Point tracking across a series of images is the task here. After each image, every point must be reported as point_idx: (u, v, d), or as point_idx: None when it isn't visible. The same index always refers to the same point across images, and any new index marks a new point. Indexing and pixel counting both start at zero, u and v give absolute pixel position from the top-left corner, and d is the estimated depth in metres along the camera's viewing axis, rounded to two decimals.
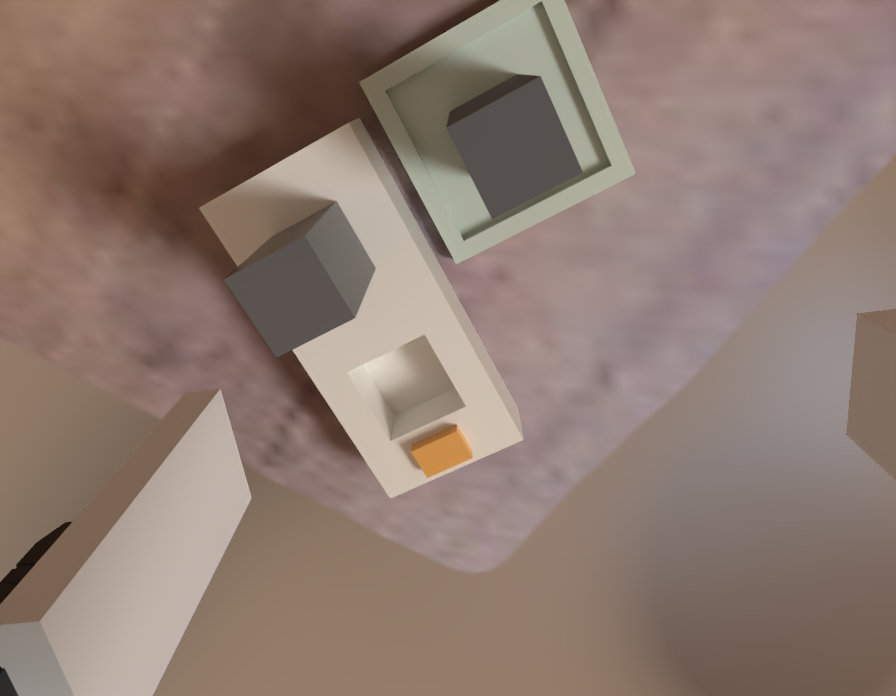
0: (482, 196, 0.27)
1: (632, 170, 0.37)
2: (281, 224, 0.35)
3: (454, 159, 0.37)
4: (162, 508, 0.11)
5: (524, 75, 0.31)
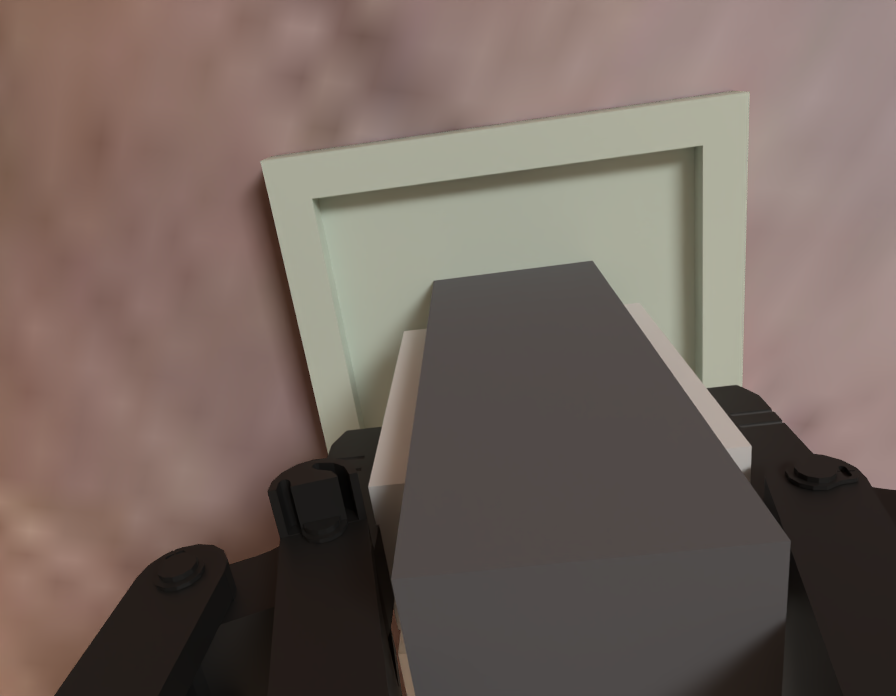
0: None
1: (738, 98, 0.15)
2: None
3: None
4: None
5: (423, 357, 0.13)
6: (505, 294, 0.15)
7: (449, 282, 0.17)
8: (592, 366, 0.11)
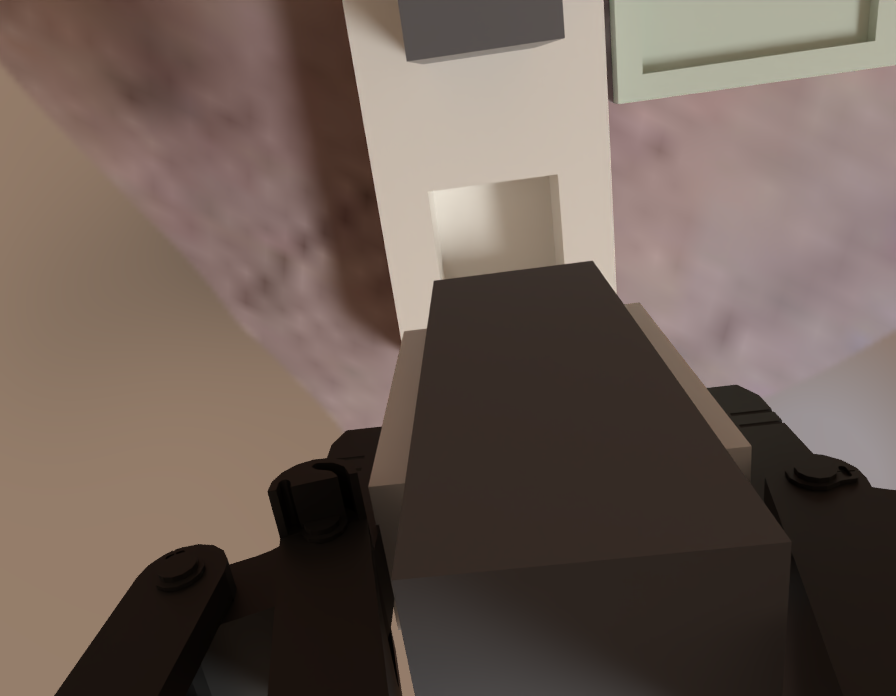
0: None
1: None
2: None
3: None
4: None
5: (423, 357, 0.13)
6: (505, 294, 0.15)
7: (449, 282, 0.17)
8: (591, 366, 0.11)
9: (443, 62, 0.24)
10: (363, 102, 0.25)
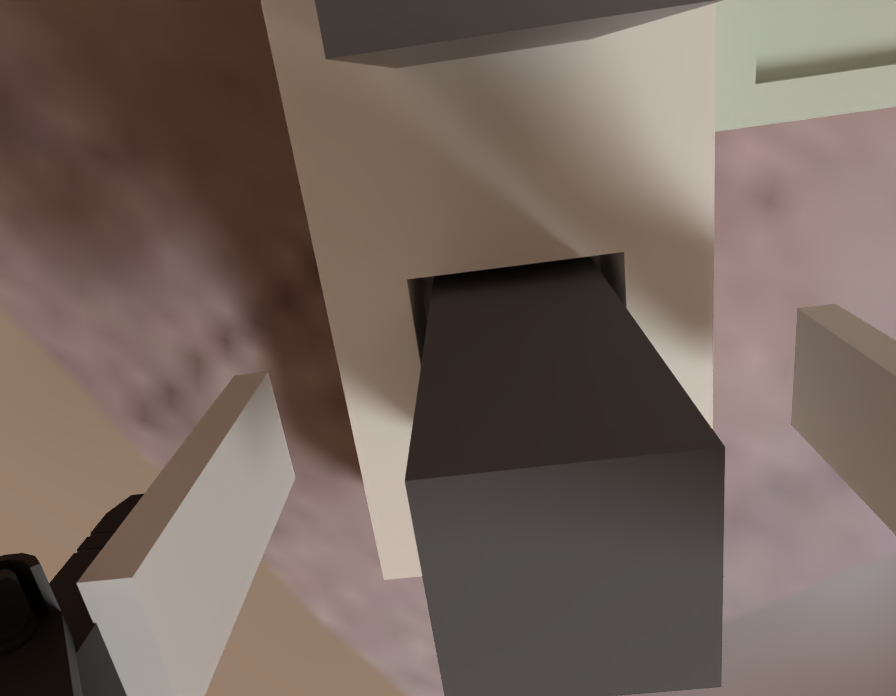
0: (650, 689, 0.10)
1: None
2: None
3: None
4: (224, 480, 0.12)
5: None
6: (501, 272, 0.17)
7: None
8: (574, 327, 0.13)
9: (431, 65, 0.14)
10: (294, 134, 0.15)
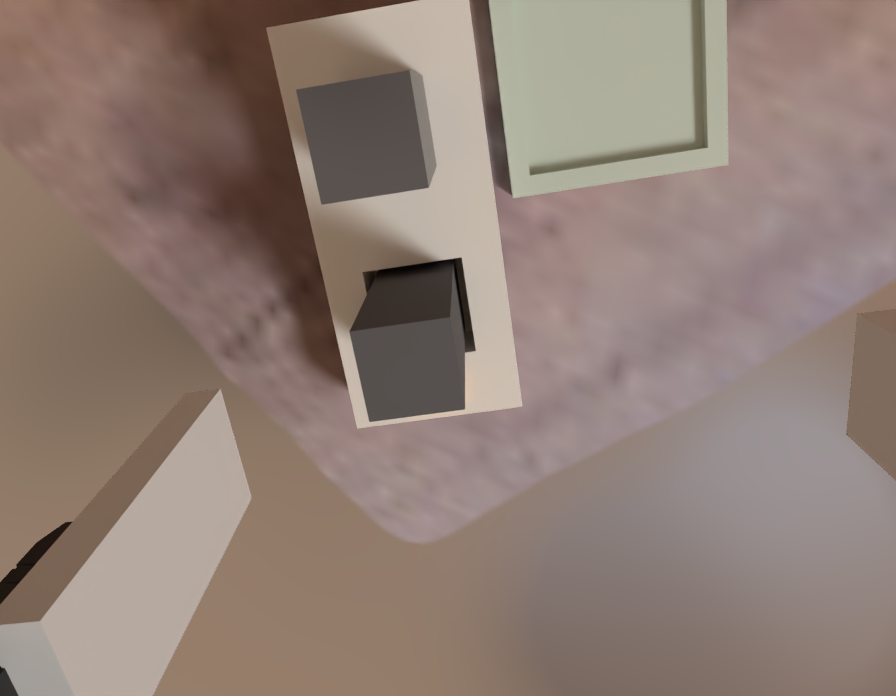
0: (440, 411, 0.28)
1: (726, 160, 0.34)
2: (352, 80, 0.31)
3: (551, 85, 0.34)
4: (161, 508, 0.11)
5: (369, 290, 0.32)
6: (409, 268, 0.35)
7: None
8: (427, 288, 0.31)
9: None
10: (309, 207, 0.33)
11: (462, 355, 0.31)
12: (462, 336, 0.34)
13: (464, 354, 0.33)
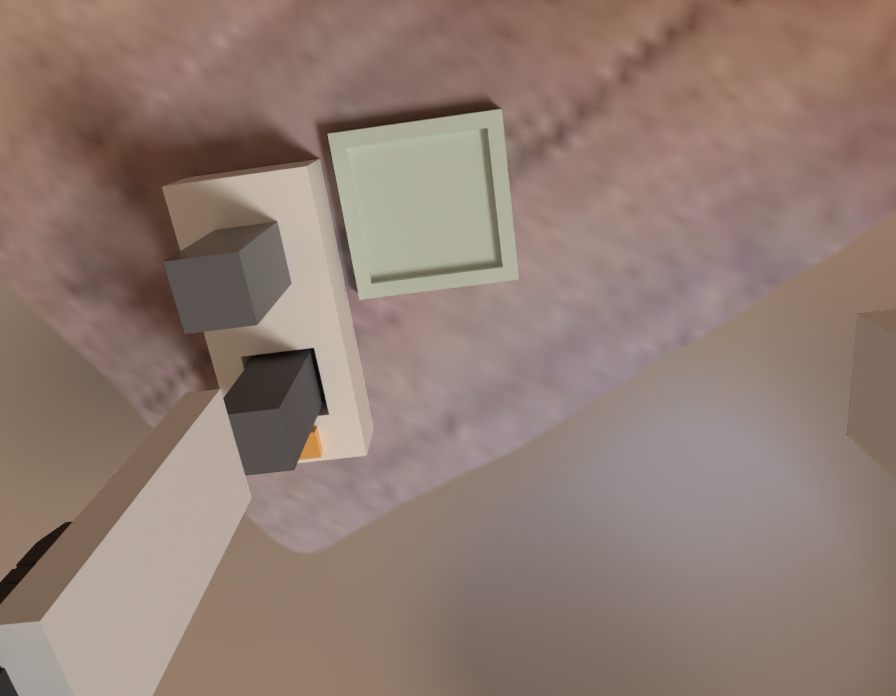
0: (277, 470, 0.39)
1: (517, 276, 0.46)
2: (226, 223, 0.42)
3: (384, 218, 0.45)
4: (161, 507, 0.11)
5: (242, 373, 0.44)
6: (279, 352, 0.46)
7: None
8: (279, 376, 0.42)
9: None
10: None
11: (306, 424, 0.43)
12: (314, 406, 0.45)
13: (314, 420, 0.45)
